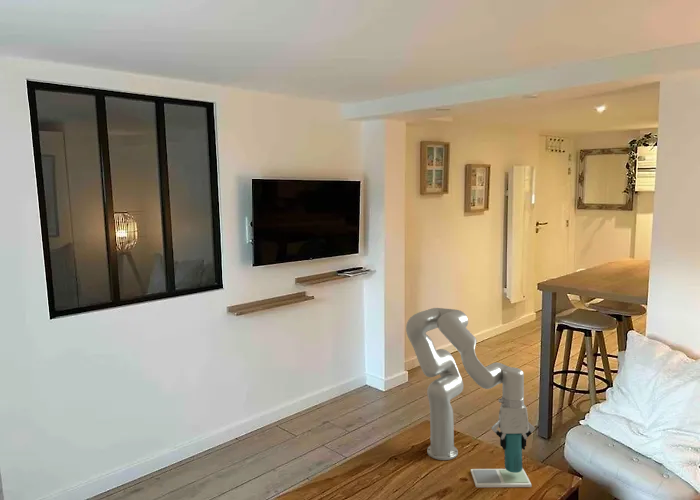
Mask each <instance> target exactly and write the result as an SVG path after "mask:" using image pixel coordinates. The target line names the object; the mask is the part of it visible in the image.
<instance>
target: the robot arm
mask: <svg viewBox="0 0 700 500" xmlns="http://www.w3.org/2000/svg"><path fill="white" fill-rule="evenodd" d="M468 324H469V319H468V316H467V314H466V313H464V311H462V310H459V309H453V308H443V307H433V308H429V309H425V310H422V311H419V312H416V313H414V314H413V315H411V316H410V318H409V319H408V320H407V322H406V325H405V332H406V335H407V338H408V340H409V342H410V343H411V345H412V348H413V350H414V353H415V357H416V359H417V362H418V364H419V366H420V369H421V371H422V373H423V375H425V377H428V378H434V377H437V376H440V377H438V378H436V379H435V380H433V381H432V382H431V383H429V384H428V386H427V389H426V390H427V391H426V392H427V398H428V404H429V405H428V406H429V416H430V417H429V419H430V420H429V422H430V423H429V424H430V425H429V426H430V427H429V428H430V436H429V440H430V445H429V446H428V447H427V449H426V450H427V455H428V456H429V457H430V458H432V459H435V460H439V461H449V460H450V461H451V460H453V459H455V458H456V457H457V456H458V454H459V450H458V448H457V447H456V446H455V432H454V431H455V429H454V427H455V425H454V409H453V406H452V403H451V400H452V399H454V398H456V397H457V396H459V395H460V394H461V393H462V392H463V390H464V381H463V377H462V375H461V373H460V370H459V368H458V366H457V364H456V363H457V362H456V360H455V358H454V357H453V355H452V353H451V352H450V351H448V350H447V349H443V348H439V349H436V346H435V344H434V342H433V340H432V338H431V337H430V336H429V335H428V334H427V332H430V331H432V330H435V329H438V330H439V332H441V334H442V335H443V336H444V337H445V338H446V339H447V340H448V341H449V342H450V343H451V345H452V346H453V347H454V348H455V349H456V351H457V352H459V354H460V360H461V362H462V365H463V367H464V370H465V371H466V374H468V375H469V377H470V378H471V379H472V380H473V381H474V382H475V384H477V385H478V386H479V387H480V388H482V389H485V390H489V389H493V388H494V387H496V386H498V385H501V384H502V395H501V398H498V403H500V407H499V411H498V421H497V422H496V423H494V424H493V425H492V426H491V427H490V428H491V430H492V431H493V432H494V433H495V435H497V437H499V442H500V443H499V445H500V447H502V450H503V451H505V435H506V434H522V451H523V450H526V447H527V440H528V438H529V437H530V435H532V433H533V432H534V431H535V430H536V428H535V426H534V425H533V424H531V423H530V422H529V417H528V415H529V414H528V409H527V406H526V405H525V373H524V371H523V370H522V369H520V368H518V367H511V366H508V365H506V364H503V363H501V362H493V363H490V364H489V365H487V366H485V365H483V363H482V362H481V361H480V360H479V358H478V356H477V354H476V345H477V341H478V340H477V338H476V337H475V336H474V335H473V334H472V333H471V331H470V330H468V328H467V327H468ZM498 428H499V430H500V431H499V430H498Z"/></svg>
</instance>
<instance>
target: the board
mask: <svg viewBox="0 0 700 500" xmlns="http://www.w3.org/2000/svg"><path fill="white" fill-rule="evenodd" d="M470 473H471V476H472V479H473V483H474V485H475V487H476V488H532V487H533V486H532V483H531V480H530V478H529V476H528V475H527V473H526V471H525V469H524V468H522V471H521V472H518V473H513V472H509V471H507V470H506V468H470Z"/></svg>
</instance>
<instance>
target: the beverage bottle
mask: <svg viewBox="0 0 700 500" xmlns="http://www.w3.org/2000/svg"><path fill="white" fill-rule="evenodd" d="M504 438H505V450H504V462H503V463H504V469H506V470H507V471H509V472H513V473H518V472H521V471H522V469H523V456H524V455H523V449H522V434H506V435H505V437H504Z"/></svg>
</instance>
